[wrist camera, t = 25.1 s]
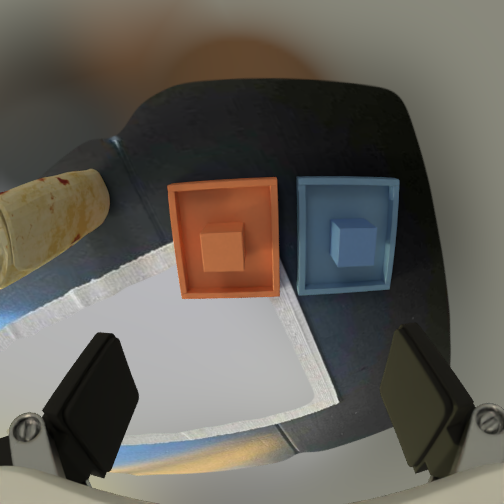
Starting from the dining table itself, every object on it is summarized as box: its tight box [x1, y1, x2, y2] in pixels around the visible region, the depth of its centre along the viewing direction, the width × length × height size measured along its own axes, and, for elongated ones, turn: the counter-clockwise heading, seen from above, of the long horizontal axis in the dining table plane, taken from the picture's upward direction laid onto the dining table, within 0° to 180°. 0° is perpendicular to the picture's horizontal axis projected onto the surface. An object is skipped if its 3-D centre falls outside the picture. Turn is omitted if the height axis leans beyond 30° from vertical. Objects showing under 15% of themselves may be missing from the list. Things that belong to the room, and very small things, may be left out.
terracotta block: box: [200, 222, 246, 272], centre depth 35 cm, size 4×4×4 cm
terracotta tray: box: [168, 177, 280, 299], centre depth 36 cm, size 15×13×2 cm
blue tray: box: [296, 176, 399, 295], centre depth 36 cm, size 15×13×2 cm
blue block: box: [329, 218, 377, 267], centre depth 34 cm, size 4×4×4 cm
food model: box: [0, 169, 110, 289], centre depth 27 cm, size 10×7×20 cm
